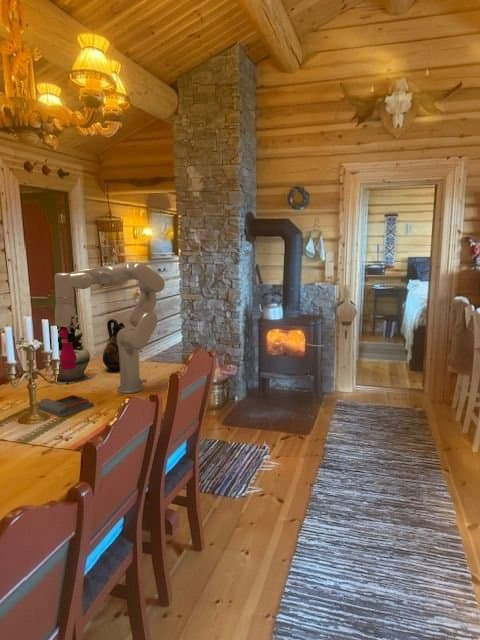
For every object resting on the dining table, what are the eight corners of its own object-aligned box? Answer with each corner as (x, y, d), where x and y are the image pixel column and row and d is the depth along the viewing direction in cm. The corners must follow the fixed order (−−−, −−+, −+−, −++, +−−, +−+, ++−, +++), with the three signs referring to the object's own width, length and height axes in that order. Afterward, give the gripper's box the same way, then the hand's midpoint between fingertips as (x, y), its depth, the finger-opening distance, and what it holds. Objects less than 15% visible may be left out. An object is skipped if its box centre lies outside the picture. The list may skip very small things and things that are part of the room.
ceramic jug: (135, 369, 266) (134, 319, 262) (116, 375, 253) (113, 322, 249) (115, 365, 275) (113, 316, 271) (95, 370, 262) (92, 320, 258)
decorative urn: (67, 387, 233) (63, 321, 226) (41, 380, 244) (37, 316, 237) (99, 377, 250) (96, 315, 244) (74, 370, 261) (70, 311, 255)
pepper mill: (71, 370, 199) (68, 325, 196) (56, 369, 201) (54, 325, 198) (80, 366, 206) (78, 323, 203) (66, 365, 208) (63, 322, 205)
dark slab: (69, 399, 213) (69, 389, 212) (93, 406, 203) (93, 396, 202) (38, 408, 200) (37, 399, 200) (62, 417, 190) (61, 407, 189)
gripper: (46, 300, 201) (48, 339, 204) (68, 303, 191) (71, 344, 194) (61, 299, 207) (63, 337, 210) (84, 301, 197) (86, 342, 199)
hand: (67, 340), depth 202 cm, fingers closed on pepper mill, 6 cm apart
